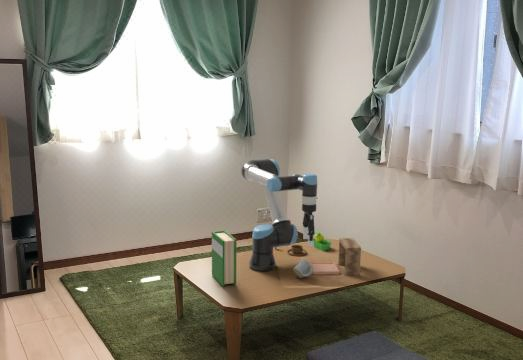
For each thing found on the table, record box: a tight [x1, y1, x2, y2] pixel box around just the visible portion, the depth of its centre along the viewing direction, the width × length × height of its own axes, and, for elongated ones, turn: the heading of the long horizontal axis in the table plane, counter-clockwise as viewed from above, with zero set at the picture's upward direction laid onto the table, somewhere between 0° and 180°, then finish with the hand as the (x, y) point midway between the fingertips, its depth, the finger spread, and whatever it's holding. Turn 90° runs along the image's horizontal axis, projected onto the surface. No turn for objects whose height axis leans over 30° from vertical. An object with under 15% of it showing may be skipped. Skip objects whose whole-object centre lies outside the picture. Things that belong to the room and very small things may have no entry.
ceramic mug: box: [293, 258, 313, 279], centre depth 274 cm, size 11×8×8 cm
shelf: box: [337, 237, 362, 276], centre depth 288 cm, size 8×18×16 cm, turn 4°
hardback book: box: [211, 230, 237, 287], centre depth 270 cm, size 18×7×24 cm, turn 23°
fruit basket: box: [313, 232, 332, 252], centre depth 325 cm, size 11×9×11 cm
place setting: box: [274, 244, 308, 257], centre depth 319 cm, size 18×20×6 cm
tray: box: [309, 262, 341, 275], centre depth 288 cm, size 18×15×3 cm
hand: (308, 242), depth 273 cm, fingers open, 13 cm apart
